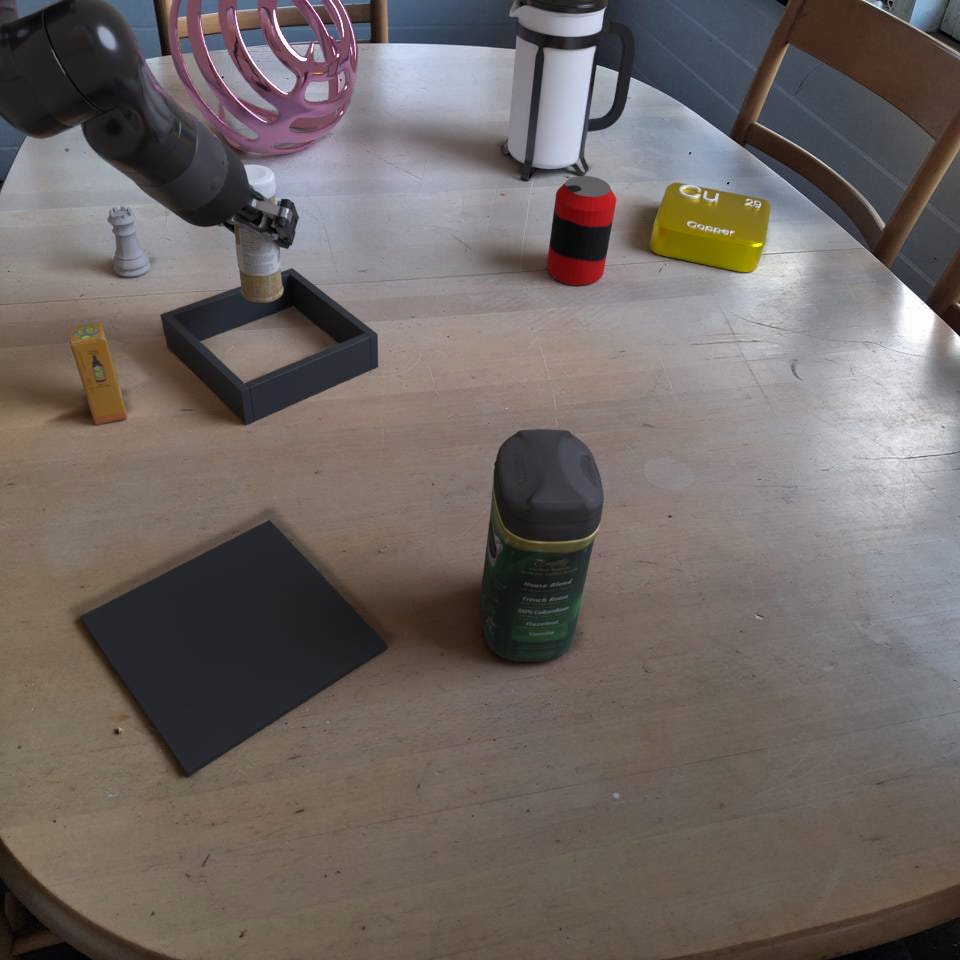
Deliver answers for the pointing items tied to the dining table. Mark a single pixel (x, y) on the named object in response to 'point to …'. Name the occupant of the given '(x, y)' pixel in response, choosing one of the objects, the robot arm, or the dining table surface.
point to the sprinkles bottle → (259, 248)
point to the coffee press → (560, 81)
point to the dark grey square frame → (286, 382)
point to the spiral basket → (288, 104)
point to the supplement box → (97, 373)
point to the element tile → (711, 227)
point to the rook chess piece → (127, 245)
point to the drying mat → (230, 643)
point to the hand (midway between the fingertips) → (266, 233)
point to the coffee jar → (539, 543)
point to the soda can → (581, 230)
